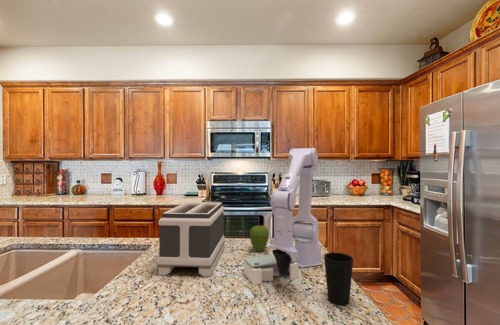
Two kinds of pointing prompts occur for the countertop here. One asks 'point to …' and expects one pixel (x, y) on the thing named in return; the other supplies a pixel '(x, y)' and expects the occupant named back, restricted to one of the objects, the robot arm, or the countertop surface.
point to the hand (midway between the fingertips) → (283, 274)
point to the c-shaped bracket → (256, 273)
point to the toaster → (191, 237)
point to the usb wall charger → (268, 273)
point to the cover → (262, 260)
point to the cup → (338, 277)
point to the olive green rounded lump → (259, 237)
